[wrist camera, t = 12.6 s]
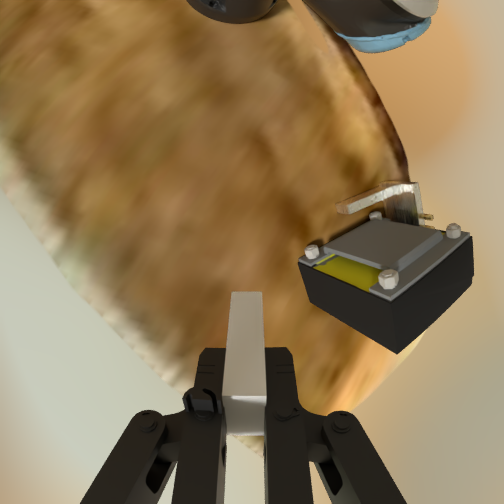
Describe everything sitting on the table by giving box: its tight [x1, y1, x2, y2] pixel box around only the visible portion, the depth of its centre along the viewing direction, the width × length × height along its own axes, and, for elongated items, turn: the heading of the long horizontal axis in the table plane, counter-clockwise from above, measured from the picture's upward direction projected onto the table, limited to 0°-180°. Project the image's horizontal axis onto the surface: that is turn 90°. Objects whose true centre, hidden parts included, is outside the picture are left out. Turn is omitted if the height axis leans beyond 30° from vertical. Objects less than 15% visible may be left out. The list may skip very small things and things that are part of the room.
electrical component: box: [298, 211, 474, 354], centre depth 43 cm, size 18×10×20 cm, turn 111°
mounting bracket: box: [336, 181, 435, 229], centre depth 48 cm, size 17×12×10 cm
